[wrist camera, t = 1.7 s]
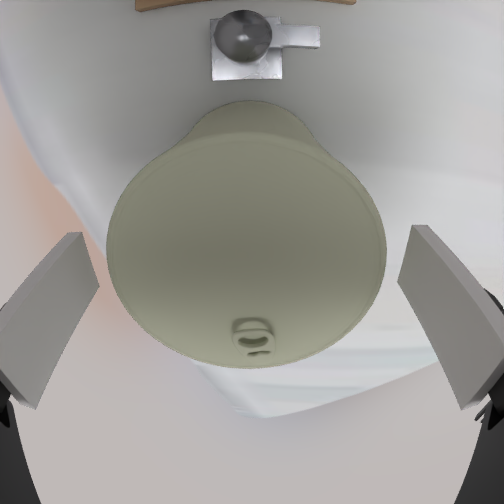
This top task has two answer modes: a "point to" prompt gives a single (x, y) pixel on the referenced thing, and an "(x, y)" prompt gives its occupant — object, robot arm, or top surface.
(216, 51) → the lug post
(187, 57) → the top surface
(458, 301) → the robot arm
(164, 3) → the tan flat square board
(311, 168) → the can
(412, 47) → the top surface
